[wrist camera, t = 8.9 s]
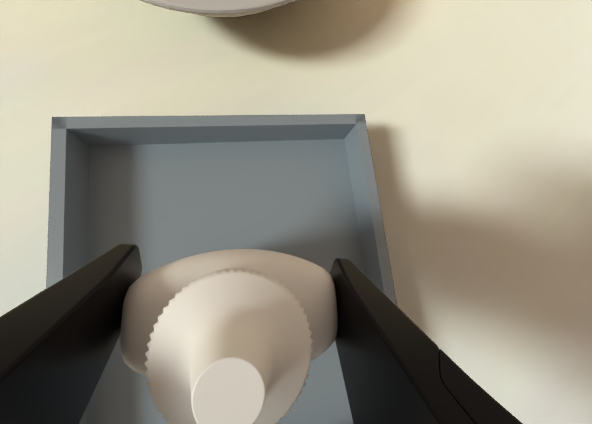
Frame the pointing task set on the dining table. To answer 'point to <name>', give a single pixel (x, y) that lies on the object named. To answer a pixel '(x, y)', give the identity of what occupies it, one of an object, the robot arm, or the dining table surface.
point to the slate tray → (215, 216)
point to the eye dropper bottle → (228, 334)
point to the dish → (219, 6)
